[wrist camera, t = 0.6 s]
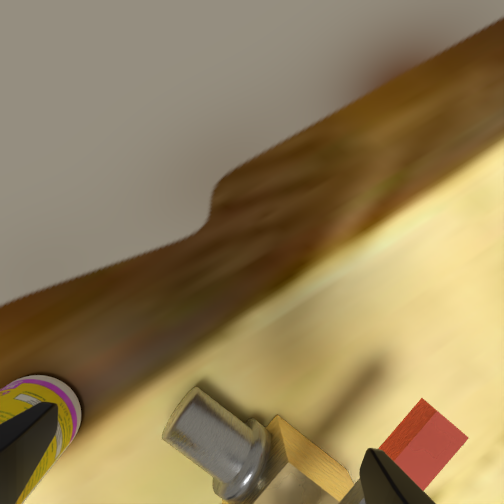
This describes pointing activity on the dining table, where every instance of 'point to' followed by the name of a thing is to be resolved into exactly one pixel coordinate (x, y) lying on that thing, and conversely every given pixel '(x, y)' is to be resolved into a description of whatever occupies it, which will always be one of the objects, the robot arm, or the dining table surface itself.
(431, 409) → the lever
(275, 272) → the dining table surface
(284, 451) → the valve
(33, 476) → the supplement bottle
